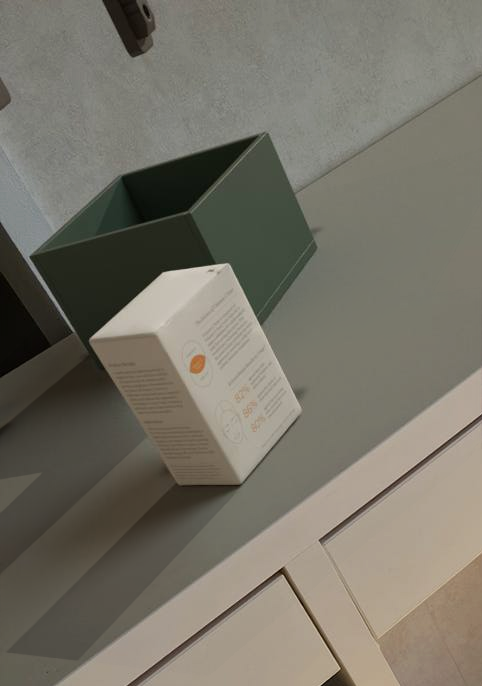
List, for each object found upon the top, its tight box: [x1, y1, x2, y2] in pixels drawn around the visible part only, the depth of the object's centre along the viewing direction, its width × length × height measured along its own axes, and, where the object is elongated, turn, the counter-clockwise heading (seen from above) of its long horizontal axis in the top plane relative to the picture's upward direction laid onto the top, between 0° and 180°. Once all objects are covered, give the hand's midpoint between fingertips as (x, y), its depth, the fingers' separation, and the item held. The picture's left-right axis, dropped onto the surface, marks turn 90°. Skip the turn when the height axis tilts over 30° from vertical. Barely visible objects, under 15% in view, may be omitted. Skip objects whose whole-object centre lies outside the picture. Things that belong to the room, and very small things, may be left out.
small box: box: [89, 264, 303, 486], centre depth 64 cm, size 8×6×10 cm
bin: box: [28, 131, 319, 370], centre depth 85 cm, size 15×15×10 cm
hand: (70, 80), depth 53 cm, fingers open, 8 cm apart
